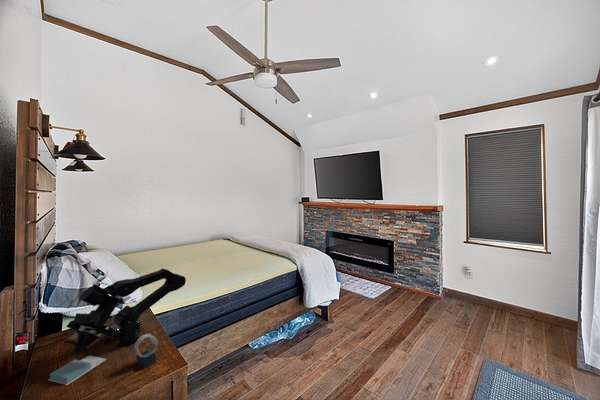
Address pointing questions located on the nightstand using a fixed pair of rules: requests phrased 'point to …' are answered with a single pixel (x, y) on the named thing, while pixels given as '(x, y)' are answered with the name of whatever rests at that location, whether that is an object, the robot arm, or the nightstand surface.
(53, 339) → the nightstand surface
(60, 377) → the teal tile
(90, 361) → the felt mat
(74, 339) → the sunglasses case
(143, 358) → the watch
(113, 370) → the nightstand surface
